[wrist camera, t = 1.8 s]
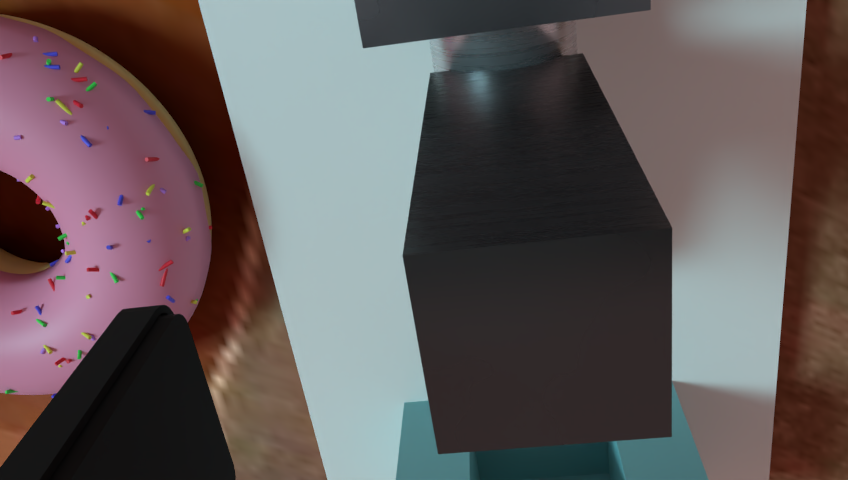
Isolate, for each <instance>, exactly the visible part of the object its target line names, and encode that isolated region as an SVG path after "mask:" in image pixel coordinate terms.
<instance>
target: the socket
mask: <svg viewBox="0 0 848 480" xmlns="http://www.w3.org/2000/svg"><path fill="white" fill-rule="evenodd" d="M396 480H708V477H707V474H706V471H705V469H704V466H703V463H702V461H701V458H700V455H699V453H698V450H697V447H696V444H695V442H694V439H693V436H692V434H691V431H690V428H689V426H688V423H687V420H686V417H685V415H684V412H683V409H682V407H681V404H680V401H679V398H678V396H677V393H676V390H675V388H674V385H673V382H672V437H664V438H650V439H637V440H624V441H610V442H597V443H583V444H570V445H557V446H543V447H530V448H516V449H503V450H490V451H476V452H463V453H449V454H438V452H437V446H436V441H435V435H434V429H433V424H432V418H431V413H430V407H429V401H417V402H405V403H404V409H403V418H402V427H401V436H400V446H399V455H398V464H397V473H396Z"/></svg>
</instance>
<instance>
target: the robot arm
mask: <svg viewBox="0 0 848 480" xmlns="http://www.w3.org/2000/svg"><path fill="white" fill-rule="evenodd" d="M0 480H235V469H234V465H233V462H232V458H231V455H230V452H229V449H228V446H227V443H226V440H225V437H224V434H223V431H222V427H221V424H220V421H219V418H218V415H217V412H216V409H215V406H214V403H213V400H212V396H211V393H210V390H209V387H208V384H207V381H206V378H205V375H204V372H203V369H202V365H201V362H200V359H199V356H198V353H197V350H196V347H195V344H194V341H193V338H192V334H191V331H190V328H189V325H188V323H187V320H186V319H185V317H184V316H183V315H181V314H174V313H173V311H172V310H171V309H170V307H168V306H166V305H156V306H147V307H137V308H127V309H122V310H121V311H120V312H119V313H118V314H117V315H116V316H115V318H114V319H113V320H112V322H111V323H110V324H109V326H108V327H107V328H106V330H105V331H104V332H103V334H102V335H101V336H100V337H99V339H98V340H97V341H96V343H95V344H94V345H93V347H92V348H91V349H90V351H89V352H88V353H87V354H86V356H85V357H84V358H83V360H82V361H81V362H80V364H79V365H78V366H77V368H76V369H75V370H74V372H73V373H72V374H71V375H70V377H69V378H68V379H67V381H66V382H65V383H64V385H63V386H62V387H61V389H60V390H59V391H58V393H57V394H56V395H55V396H54V398H53V399H52V400H51V402H50V403H49V404H48V406H47V407H46V408H45V410H44V411H43V412H42V413H41V415H40V416H39V417H38V419H37V420H36V421H35V423H34V424H33V425H32V427H31V428H30V429H29V431H28V432H27V433H26V434H25V436H24V437H23V438H22V440H21V441H20V442H19V444H18V445H17V446H16V448H15V449H14V450H13V452H12V453H11V454H10V455H9V457H8V458H7V459H6V461H5V462H4V463H3V465H2V466H1V467H0Z"/></svg>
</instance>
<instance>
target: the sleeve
mask: <svg viewBox="0 0 848 480" xmlns="http://www.w3.org/2000/svg"><path fill="white" fill-rule="evenodd" d="M354 2H355V8H356V13H357V19H358V24H359V30H360V35H361V41H362V46H363V48H370V47H378V46H385V45H393V44H400V43H408V42H415V41H423V40H430V39H438V38H445V37H452V36H460V35H467V34H475V33H482V32H490V31H497V30H505V29H512V28H520V27H527V26H535V25H542V24H550V23H557V22H565V21H572V20H580V19H587V18H595V17H602V16H610V15H617V14H625V13H632V12H640V11H647V10H651V0H354Z"/></svg>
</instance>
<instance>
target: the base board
mask: <svg viewBox="0 0 848 480" xmlns="http://www.w3.org/2000/svg"><path fill="white" fill-rule="evenodd" d="M198 1H199V5H200V9H201V13H202V16H203V20H204V24H205V27H206V31H207V35H208V38H209V42H210V46H211V50H212V53H213V57H214V61H215V64H216V68H217V72H218V76H219V79H220V83H221V87H222V90H223V94H224V98H225V101H226V105H227V109H228V113H229V116H230V120H231V124H232V127H233V131H234V135H235V139H236V142H237V146H238V150H239V153H240V157H241V161H242V164H243V168H244V172H245V176H246V179H247V183H248V187H249V190H250V194H251V198H252V202H253V205H254V209H255V213H256V216H257V220H258V224H259V227H260V231H261V235H262V239H263V242H264V246H265V250H266V253H267V257H268V261H269V265H270V268H271V272H272V276H273V279H274V283H275V287H276V291H277V294H278V298H279V302H280V305H281V309H282V313H283V316H284V320H285V324H286V328H287V331H288V335H289V339H290V342H291V346H292V350H293V354H294V357H295V361H296V365H297V368H298V372H299V376H300V379H301V383H302V387H303V391H304V394H305V398H306V402H307V405H308V409H309V413H310V417H311V420H312V424H313V428H314V431H315V435H316V439H317V442H318V446H319V450H320V454H321V457H322V461H323V465H324V468H325V472H326V476H327V480H396V473H397V464H398V455H399V446H400V436H401V427H402V418H403V409H404V403H405V402H417V401H428V396H427V390H426V385H425V379H424V374H423V368H422V362H421V357H420V351H419V346H418V340H417V334H416V329H415V323H414V318H413V312H412V306H411V301H410V295H409V290H408V284H407V279H406V273H405V267H404V262H403V256H402V255H403V249H404V242H405V235H406V229H407V222H408V216H409V209H410V202H411V196H412V189H413V183H414V176H415V169H416V163H417V156H418V150H419V143H420V136H421V130H422V123H423V117H424V110H425V103H426V97H427V90H428V84H429V77H430V73H433V72H434V70H433V63H432V56H431V49H430V42H429V40H423V41H415V42H408V43H400V44H393V45H385V46H378V47H370V48H363V46H362V41H361V35H360V30H359V24H358V19H357V13H356V8H355V2H354V0H198ZM806 6H807V0H651V10H647V11H640V12H632V13H625V14H617V15H610V16H602V17H595V18H587V19H580V20H576V33H577V52H578V54H581V53H583V55H584V56H585V58H586V60H587V62H588V64H589V66H590V68H591V70H592V72H593V74H594V76H595V78H596V80H597V82H598V84H599V86H600V88H601V90H602V92H603V94H604V96H605V97H606V99H607V101H608V103H609V105H610V107H611V109H612V111H613V113H614V115H615V117H616V119H617V121H618V123H619V125H620V127H621V129H622V131H623V133H624V135H625V137H626V138H627V140H628V142H629V144H630V146H631V148H632V150H633V152H634V154H635V156H636V158H637V160H638V162H639V164H640V166H641V168H642V170H643V172H644V174H645V176H646V178H647V179H648V181H649V183H650V185H651V187H652V189H653V191H654V193H655V195H656V197H657V199H658V201H659V203H660V205H661V207H662V209H663V211H664V213H665V215H666V217H667V219H668V221H669V222H670V224H671V226H672V382H673V385H674V388H675V390H676V393H677V396H678V398H679V401H680V404H681V407H682V409H683V412H684V415H685V417H686V420H687V423H688V426H689V428H690V431H691V434H692V436H693V439H694V442H695V444H696V447H697V450H698V453H699V455H700V458H701V461H702V463H703V466H704V469H705V471H706V474H707V477H708V480H769V474H770V461H771V449H772V436H773V423H774V411H775V398H776V385H777V373H778V360H779V347H780V335H781V322H782V309H783V297H784V284H785V271H786V259H787V246H788V234H789V221H790V208H791V196H792V183H793V170H794V158H795V145H796V132H797V120H798V107H799V94H800V82H801V69H802V56H803V44H804V31H805V19H806Z"/></svg>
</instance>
